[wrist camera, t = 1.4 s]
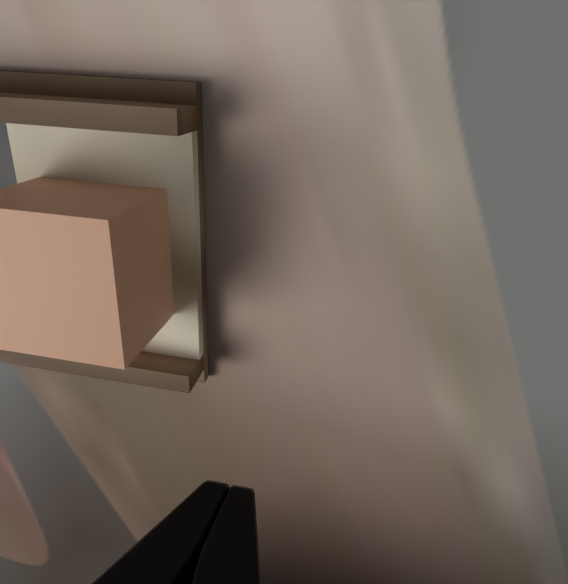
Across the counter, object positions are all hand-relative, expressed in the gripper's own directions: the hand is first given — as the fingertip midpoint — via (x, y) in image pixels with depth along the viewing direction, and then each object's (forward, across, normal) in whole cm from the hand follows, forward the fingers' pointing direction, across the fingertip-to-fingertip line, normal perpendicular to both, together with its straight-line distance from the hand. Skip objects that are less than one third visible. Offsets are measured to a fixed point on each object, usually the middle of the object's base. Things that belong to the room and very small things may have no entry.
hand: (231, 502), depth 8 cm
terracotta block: (+10, +8, 0) cm, 13 cm away
